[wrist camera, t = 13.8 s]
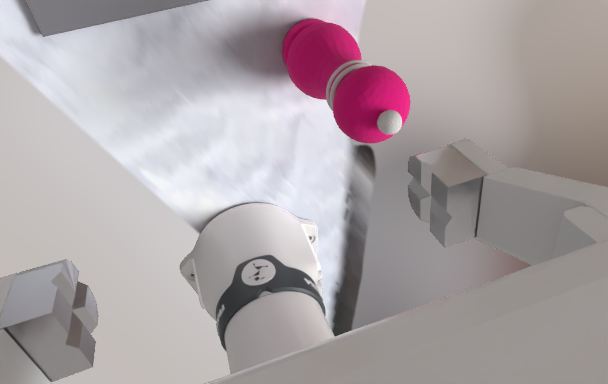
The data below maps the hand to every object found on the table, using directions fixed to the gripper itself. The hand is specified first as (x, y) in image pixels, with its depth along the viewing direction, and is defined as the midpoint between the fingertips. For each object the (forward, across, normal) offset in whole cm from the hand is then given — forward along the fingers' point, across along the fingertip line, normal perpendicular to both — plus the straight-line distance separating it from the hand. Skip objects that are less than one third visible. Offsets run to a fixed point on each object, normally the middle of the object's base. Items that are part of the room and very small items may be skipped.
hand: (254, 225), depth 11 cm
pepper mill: (+37, -12, +9) cm, 40 cm away
